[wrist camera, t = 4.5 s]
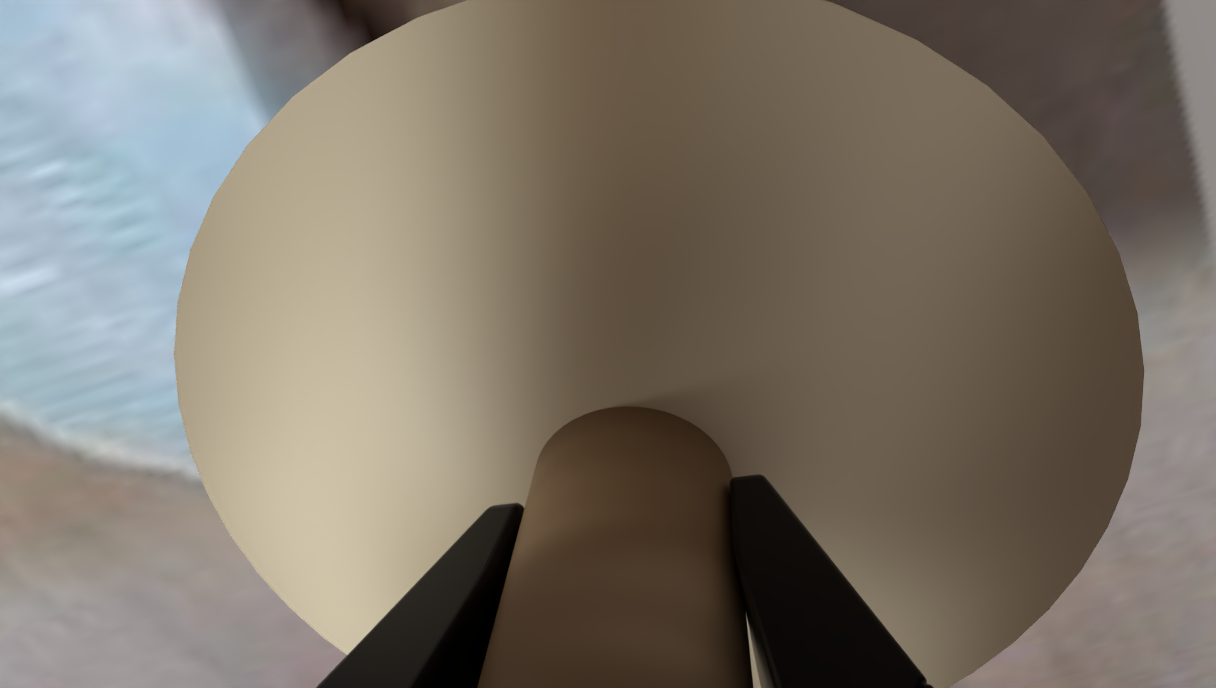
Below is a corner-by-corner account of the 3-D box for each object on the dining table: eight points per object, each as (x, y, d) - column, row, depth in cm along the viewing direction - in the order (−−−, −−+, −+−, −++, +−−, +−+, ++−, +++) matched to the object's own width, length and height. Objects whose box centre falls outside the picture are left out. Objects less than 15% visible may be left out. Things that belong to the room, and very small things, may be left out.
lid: (1174, -188, 6) (2188, -425, 2) (1068, 689, 12) (1278, 1099, 8) (26, 112, 8) (-611, 291, 4) (398, 730, 14) (281, 1066, 10)
